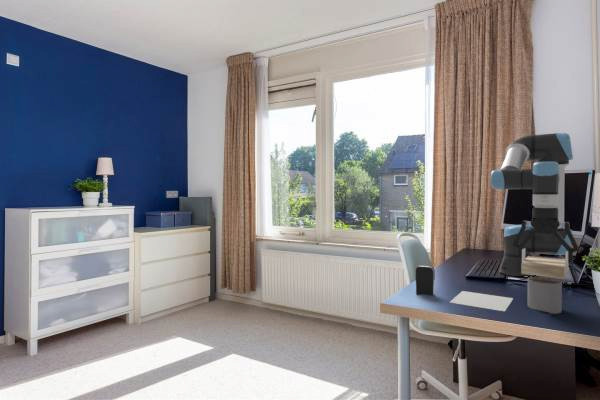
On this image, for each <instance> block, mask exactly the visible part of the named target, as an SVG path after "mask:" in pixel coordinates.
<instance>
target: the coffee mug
mask: <svg viewBox="0 0 600 400" xmlns="http://www.w3.org/2000/svg"><path fill="white" fill-rule="evenodd" d="M562 291H563V282H562V280H560V279H559V278H554V277H545V276H534V277H527V298H526V299H527V300H526V301H527V307H528V308H530V309H532V310H536V311H539V312H547V313H548V314H551V315H555V314H560V313H562V305H563V304H562V303H563V300H562V299H563V298H562V297H563V292H562Z"/></svg>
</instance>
